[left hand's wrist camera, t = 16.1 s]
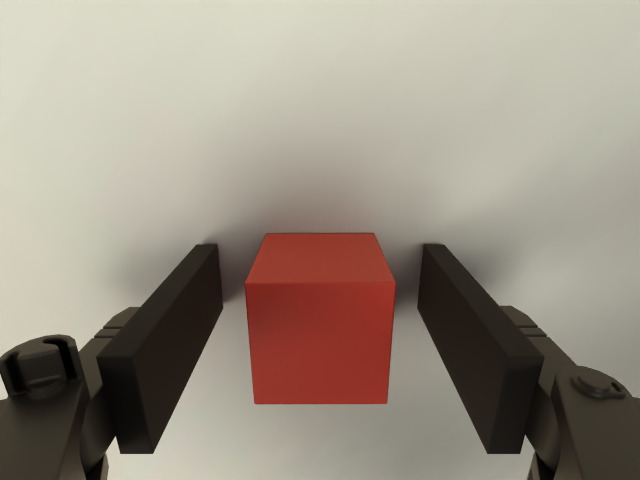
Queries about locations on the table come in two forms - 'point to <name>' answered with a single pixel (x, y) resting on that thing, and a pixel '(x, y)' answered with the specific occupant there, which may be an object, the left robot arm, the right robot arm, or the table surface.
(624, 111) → the table surface
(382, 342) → the red cube
